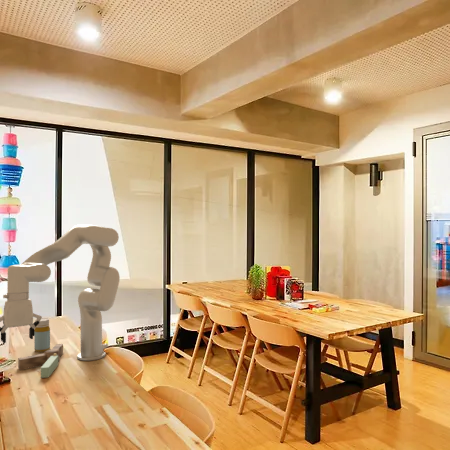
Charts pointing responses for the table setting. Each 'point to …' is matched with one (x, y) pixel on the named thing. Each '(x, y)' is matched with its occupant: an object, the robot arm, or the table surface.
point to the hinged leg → (49, 366)
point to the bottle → (42, 336)
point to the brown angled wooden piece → (39, 358)
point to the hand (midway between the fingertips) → (17, 340)
